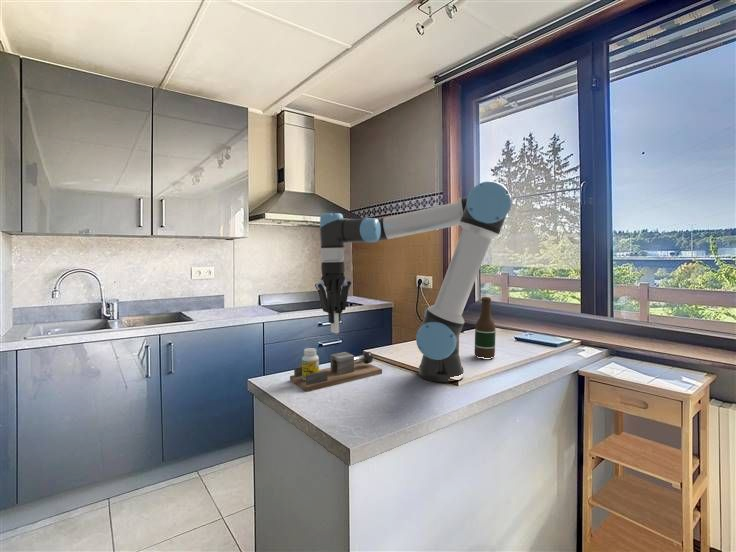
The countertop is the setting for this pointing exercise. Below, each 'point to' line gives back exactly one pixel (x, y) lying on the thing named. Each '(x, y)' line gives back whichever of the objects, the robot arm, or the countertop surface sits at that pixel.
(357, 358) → the shaft
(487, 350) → the beer bottle
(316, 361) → the supplement bottle
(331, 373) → the base
